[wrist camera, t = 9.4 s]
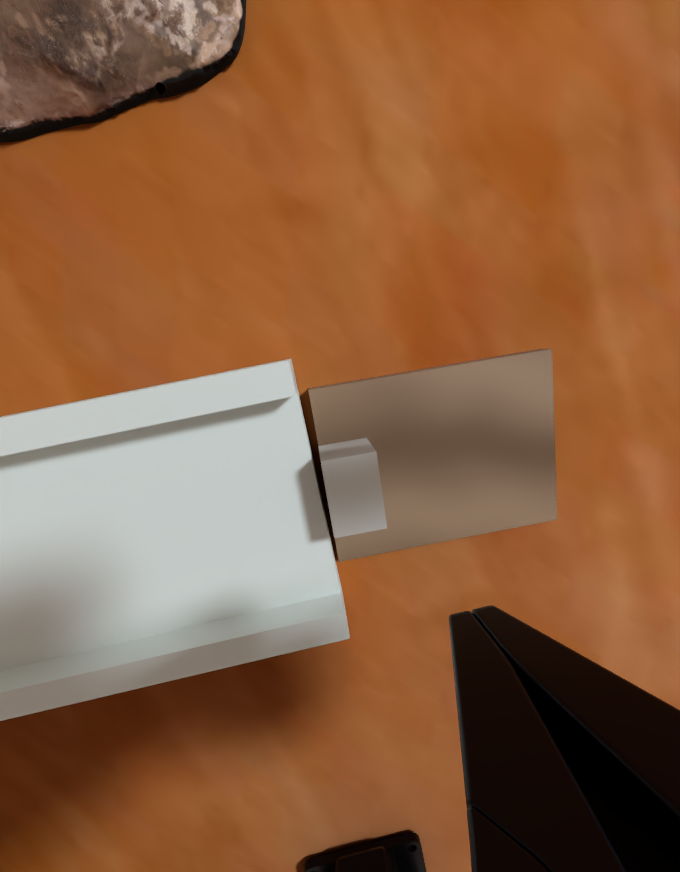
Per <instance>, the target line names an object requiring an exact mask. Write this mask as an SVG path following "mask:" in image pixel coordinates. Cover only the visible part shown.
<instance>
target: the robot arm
mask: <svg viewBox="0 0 680 872" xmlns="http://www.w3.org/2000/svg"><path fill="white" fill-rule="evenodd" d="M449 626H450V637H451V647H452V658H453V668H454V679H455V689H456V700H457V710H458V721H459V731H460V742H461V752H462V763H463V773H464V784H465V794H466V804H467V819H468V829H469V840H470V852H471V868H472V872H680V710H678V709H677V708H675V707H673V706H671V705H670V704H668V703H666V702H664V701H662V700H661V699H659V698H657V697H655V696H653V695H652V694H650V693H648V692H646V691H645V690H643V689H641V688H639V687H637V686H636V685H634V684H632V683H630V682H629V681H627V680H625V679H623V678H621V677H620V676H618V675H616V674H614V673H613V672H611V671H609V670H607V669H605V668H604V667H602V666H600V665H598V664H597V663H595V662H593V661H591V660H589V659H588V658H586V657H584V656H582V655H581V654H579V653H577V652H575V651H573V650H572V649H570V648H568V647H566V646H564V645H563V644H561V643H559V642H557V641H556V640H554V639H552V638H550V637H548V636H547V635H545V634H543V633H541V632H540V631H538V630H536V629H534V628H532V627H531V626H529V625H527V624H525V623H524V622H522V621H520V620H518V619H516V618H515V617H513V616H511V615H509V614H508V613H506V612H504V611H502V610H500V609H499V608H497V607H495V606H485V607H481V608H477V609H473V610H472V612H469V611H464V612H460V613H455V614H451V615H450V616H449ZM304 872H426V868H425V863H424V858H423V853H422V848H421V843H420V839H419V836H418V835H417V834H416V833H407V834H403V835H399V836H395V837H392V838H388V839H384V840H380V841H376V842H372V843H369V844H365V845H361V846H357V847H353V848H350V849H346V850H342V851H338V852H334V853H330V854H327V855H323V856H319V857H315V858H311V859H309V860H307V861H306V862H305V863H304Z"/></svg>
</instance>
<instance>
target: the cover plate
mask: <svg viewBox="0 0 680 872" xmlns="http://www.w3.org/2000/svg"><path fill="white" fill-rule="evenodd" d="M308 391H309V397H310V402H311V408H312V413H313V419H314V425H315V430H316V436H317V441H318V447H319V454H320V461H321V467H322V472H323V478H324V483H325V489H326V495H327V500H328V506H329V511H330V517H331V523H332V528H333V534H334V538H335V542H336V548H337V554H338V559H339V562H340V561H345V560H350V559H356V558H361V557H366V556H371V555H376V554H381V553H387V552H392V551H397V550H402V549H407V548H412V547H418V546H423V545H428V544H433V543H438V542H443V541H449V540H454V539H459V538H464V537H469V536H474V535H480V534H485V533H490V532H495V531H500V530H505V529H511V528H516V527H521V526H526V525H531V524H536V523H542V522H547V521H552V520H557V501H556V468H555V435H554V401H553V368H552V349H538V350H532V351H526V352H520V353H514V354H508V355H502V356H496V357H490V358H484V359H479V360H473V361H467V362H461V363H455V364H449V365H443V366H437V367H431V368H425V369H420V370H414V371H408V372H402V373H396V374H390V375H384V376H378V377H372V378H366V379H361V380H355V381H349V382H343V383H337V384H331V385H325V386H319V387H313V388H308Z"/></svg>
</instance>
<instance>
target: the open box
mask: <svg viewBox="0 0 680 872" xmlns="http://www.w3.org/2000/svg"><path fill="white" fill-rule="evenodd" d="M346 639H350V635H349V629H348V623H347V617H346V611H345V604H344V598H343V593H342V588H341V584H340V579H339V575H338V570H337V565H336V561H335V556H334V552H333V547H332V543H331V538H330V533H329V529H328V524H327V520H326V515H325V511H324V506H323V502H322V497H321V492H320V488H319V483H318V479H317V474H316V470H315V465H314V460H313V456H312V451H311V447H310V442H309V438H308V433H307V429H306V424H305V419H304V415H303V410H302V406H301V401H300V397H299V392H298V387H297V383H296V378H295V374H294V369H293V365H292V360H291V359H286V360H281V361H276V362H271V363H266V364H261V365H256V366H251V367H246V368H241V369H236V370H231V371H226V372H221V373H216V374H211V375H206V376H201V377H196V378H191V379H186V380H181V381H176V382H171V383H166V384H161V385H156V386H151V387H146V388H141V389H137V390H132V391H127V392H122V393H117V394H112V395H107V396H102V397H97V398H92V399H87V400H82V401H77V402H72V403H67V404H62V405H57V406H52V407H47V408H42V409H37V410H32V411H27V412H22V413H17V414H12V415H7V416H2V417H0V721H3V720H7V719H11V718H16V717H20V716H24V715H28V714H32V713H37V712H41V711H45V710H49V709H54V708H58V707H62V706H66V705H71V704H75V703H79V702H83V701H88V700H92V699H96V698H100V697H105V696H109V695H113V694H117V693H121V692H126V691H130V690H134V689H138V688H143V687H147V686H151V685H155V684H160V683H164V682H168V681H172V680H177V679H181V678H185V677H189V676H193V675H198V674H202V673H206V672H210V671H215V670H219V669H223V668H227V667H232V666H236V665H240V664H244V663H249V662H253V661H257V660H261V659H265V658H270V657H274V656H278V655H282V654H287V653H291V652H295V651H299V650H304V649H308V648H312V647H316V646H321V645H325V644H329V643H333V642H338V641H342V640H346Z"/></svg>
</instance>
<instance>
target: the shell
mask: <svg viewBox="0 0 680 872" xmlns="http://www.w3.org/2000/svg"><path fill="white" fill-rule="evenodd" d="M245 18H246V0H0V142H10V141H19V140H25V139H29V138H32V137H35V136H39V135H41V134H44V133H48V132H51V131H55V130H59V129H63V128H68V127H72V126H75V125H80V124H87V123H96V122H100V121H103V120H106V119H108V118H110V117H112V116H114V115H116V114H118V113H121V112H123V111H125V110H128V109H130V108H132V107H135V106H137V105H139V104H142V103H145V102H147V101H149V100H152V99H157V98H165V97H170V96H174V95H178V94H180V93H183V92H186V91H189V90H191V89H194V88H196V87H198V86H200V85H202V84H204V83H206V82H207V81H209V80H210V79H212V78H213V77H214V76H215V75H217V74H218V73H219V72H221V71H222V70H223V69H224V68H226V67H227V66H228V65H230V64H231V63H232V62H233V61H234V59H235V58H236V56H237V55H238V53H239V50H240V48H241V45H242V41H243V36H244V30H245ZM157 82H160V83H162V84H164V86H165V87H166V91H165V92H164V94H163V95H159V93H158V91H157V90H156V84H157Z"/></svg>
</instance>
